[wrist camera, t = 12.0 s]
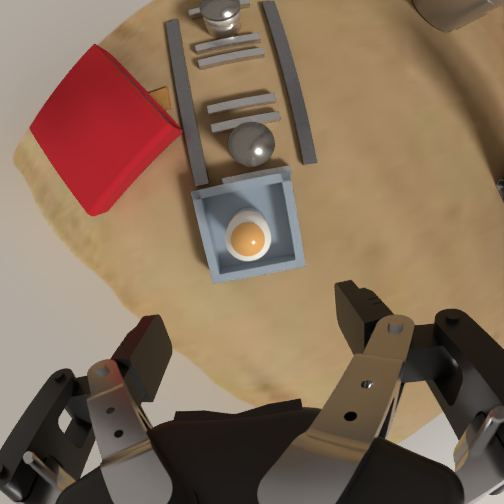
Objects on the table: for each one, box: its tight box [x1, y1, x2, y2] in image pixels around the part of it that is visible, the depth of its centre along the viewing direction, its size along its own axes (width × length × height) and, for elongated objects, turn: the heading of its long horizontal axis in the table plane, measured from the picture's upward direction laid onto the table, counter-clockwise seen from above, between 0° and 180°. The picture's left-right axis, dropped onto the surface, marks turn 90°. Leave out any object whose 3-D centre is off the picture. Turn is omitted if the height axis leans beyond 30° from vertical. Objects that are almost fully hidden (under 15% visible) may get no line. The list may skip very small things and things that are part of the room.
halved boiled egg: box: [225, 207, 271, 261], centre depth 29 cm, size 4×4×7 cm
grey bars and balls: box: [149, 0, 317, 186], centre depth 26 cm, size 19×26×6 cm
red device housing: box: [30, 44, 183, 216], centre depth 27 cm, size 18×14×5 cm
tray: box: [191, 172, 305, 284], centre depth 32 cm, size 11×11×3 cm
